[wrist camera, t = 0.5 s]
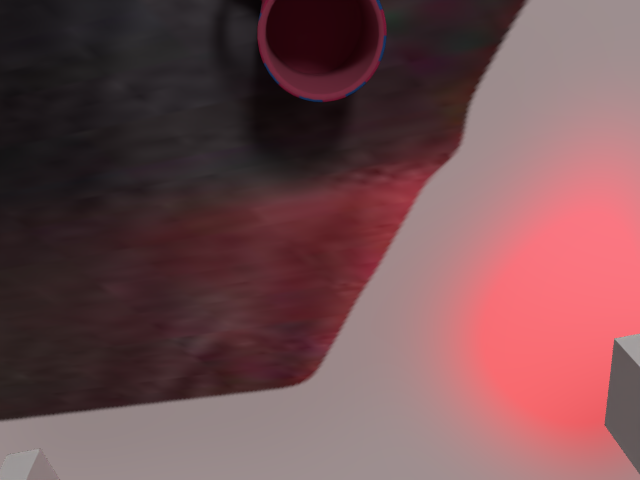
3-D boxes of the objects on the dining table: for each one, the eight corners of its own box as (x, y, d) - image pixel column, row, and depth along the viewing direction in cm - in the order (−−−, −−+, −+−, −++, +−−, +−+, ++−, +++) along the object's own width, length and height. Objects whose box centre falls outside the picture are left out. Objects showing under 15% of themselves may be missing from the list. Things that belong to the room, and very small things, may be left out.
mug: (313, 99, 36) (322, 127, 30) (195, -19, 32) (177, -13, 26) (387, 22, 34) (412, 36, 28) (271, -112, 30) (271, -129, 24)
